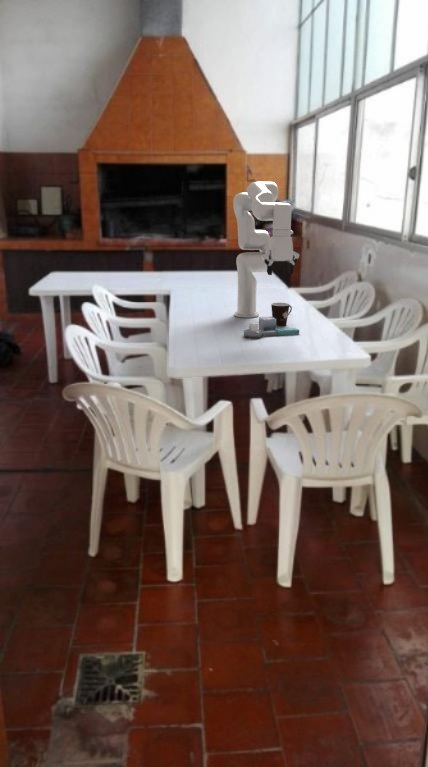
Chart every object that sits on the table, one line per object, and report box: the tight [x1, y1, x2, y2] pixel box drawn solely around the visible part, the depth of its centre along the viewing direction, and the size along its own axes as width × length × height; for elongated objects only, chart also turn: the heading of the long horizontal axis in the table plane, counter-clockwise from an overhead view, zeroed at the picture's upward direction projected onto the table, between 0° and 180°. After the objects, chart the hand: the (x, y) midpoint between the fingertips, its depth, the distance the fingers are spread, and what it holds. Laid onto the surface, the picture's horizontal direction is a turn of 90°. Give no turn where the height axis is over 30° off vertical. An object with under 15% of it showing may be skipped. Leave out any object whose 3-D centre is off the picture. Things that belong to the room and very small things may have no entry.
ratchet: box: [243, 322, 300, 340], centre depth 259 cm, size 8×26×6 cm, turn 108°
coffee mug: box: [271, 302, 293, 328], centre depth 279 cm, size 12×9×10 cm
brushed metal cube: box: [258, 316, 277, 331], centre depth 267 cm, size 6×6×6 cm
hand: (280, 274), depth 253 cm, fingers open, 9 cm apart
